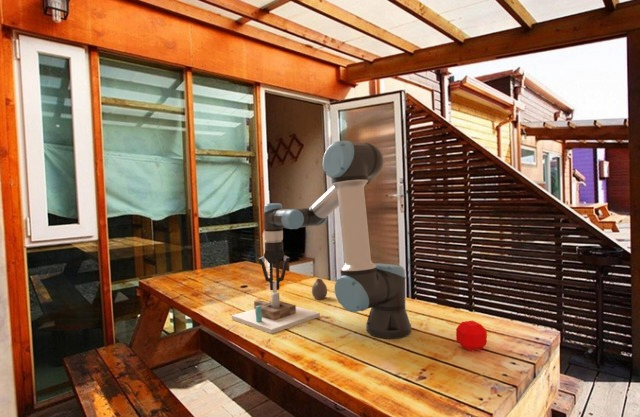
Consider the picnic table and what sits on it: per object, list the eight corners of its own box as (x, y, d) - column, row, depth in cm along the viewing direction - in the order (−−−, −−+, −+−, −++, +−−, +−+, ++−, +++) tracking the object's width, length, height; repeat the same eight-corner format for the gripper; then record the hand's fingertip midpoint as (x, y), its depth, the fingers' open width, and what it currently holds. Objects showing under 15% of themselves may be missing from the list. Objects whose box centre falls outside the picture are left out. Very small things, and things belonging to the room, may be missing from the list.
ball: (491, 351, 117) (491, 325, 117) (468, 354, 115) (468, 329, 115) (473, 341, 125) (473, 317, 125) (452, 344, 123) (452, 320, 122)
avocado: (325, 300, 175) (325, 281, 175) (310, 300, 176) (310, 280, 176) (328, 296, 182) (328, 277, 181) (313, 296, 183) (313, 277, 183)
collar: (295, 313, 153) (295, 305, 153) (273, 320, 145) (273, 312, 145) (267, 304, 165) (267, 297, 165) (245, 311, 157) (245, 303, 157)
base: (319, 316, 153) (319, 292, 153) (271, 333, 136) (270, 306, 135) (279, 305, 169) (278, 283, 169) (231, 319, 152) (231, 295, 152)
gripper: (289, 239, 166) (290, 294, 167) (258, 240, 165) (259, 295, 166) (290, 241, 159) (291, 299, 160) (257, 242, 157) (258, 301, 158)
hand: (275, 297), depth 163 cm, fingers closed
